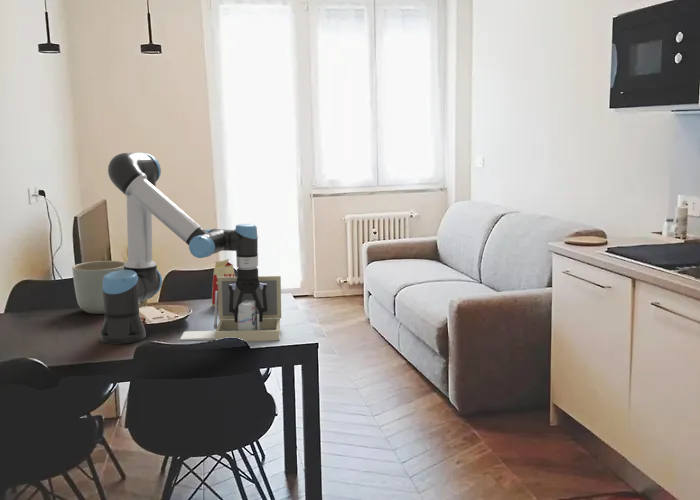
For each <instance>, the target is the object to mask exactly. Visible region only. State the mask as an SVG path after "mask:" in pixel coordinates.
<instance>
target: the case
mask: <svg viewBox="0 0 700 500" xmlns="http://www.w3.org/2000/svg"><path fill="white" fill-rule="evenodd" d="M258 280H259V282H260V283H263V284H264V283H266V284H267V287H266V298H267V311H266V312H263V320H262V322H260V330H247V331H238V322H235V319H234V313H232V312H229V302H230V290H229V285H230V284H235V283H236V282H237V276H235V277H218V291H216V292H215V306H214V319H213V320H214V323H213V329H214V330H215V331H216V332H215V338H216V339H221V338H226V337H236V338H240V339H243V340H246V341H245V342H261V341H262V342H263V341H280V337H281V333H280V332H281V319H282V284H281V283H282V282H281V281H282V277H281V275H263V276H262V275H258ZM240 292H241V291H240V290H239V289H238V288H237V286H236V287H235V290H234V300H233V308H234V309H235V308H236V305H237V301H238V298H239V295H240ZM256 293H257V296H258V299H259V301H260V304H261V307H262V308H264V306H263V296H262V289H261V288H260V286H259V287H258V288H257V289H256ZM245 300H253V301H255V300H254V297H253V295H252V294H249V293H247V294H243V297H242V300H241V303H242V302H244V301H245ZM241 303H240V304H241ZM217 306H219V307H217ZM238 312H239V311H238ZM218 320H219V321H218Z"/></svg>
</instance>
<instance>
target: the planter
mask: <svg viewBox="0 0 700 500" xmlns="http://www.w3.org/2000/svg"><path fill="white" fill-rule="evenodd" d="M125 263H126V261H125V262H124V261H118V260H97V261H88V262H82V263H77V264H75V265H73V266H72V279H73V285H74V293H75V297H76V302H77V305H78V306H79V308H80V309H81V310H82V311H84V312H85V313H87V314H92V315H105V314H104V299H103V289H102V285H103V278H104V276H105V275H107V274H108V273H111V272H114V271H118V270H124V264H125Z"/></svg>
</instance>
